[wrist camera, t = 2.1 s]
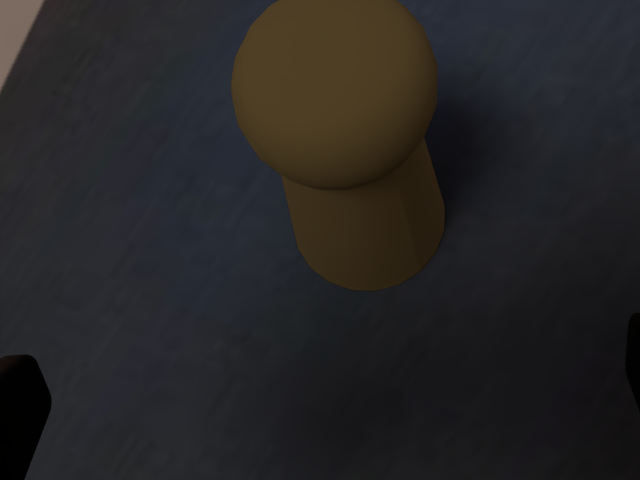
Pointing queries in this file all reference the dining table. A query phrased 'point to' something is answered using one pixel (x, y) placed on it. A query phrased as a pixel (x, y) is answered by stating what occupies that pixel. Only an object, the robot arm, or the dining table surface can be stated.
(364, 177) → the pepper shaker
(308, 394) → the dining table surface
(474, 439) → the dining table surface
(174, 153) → the dining table surface
